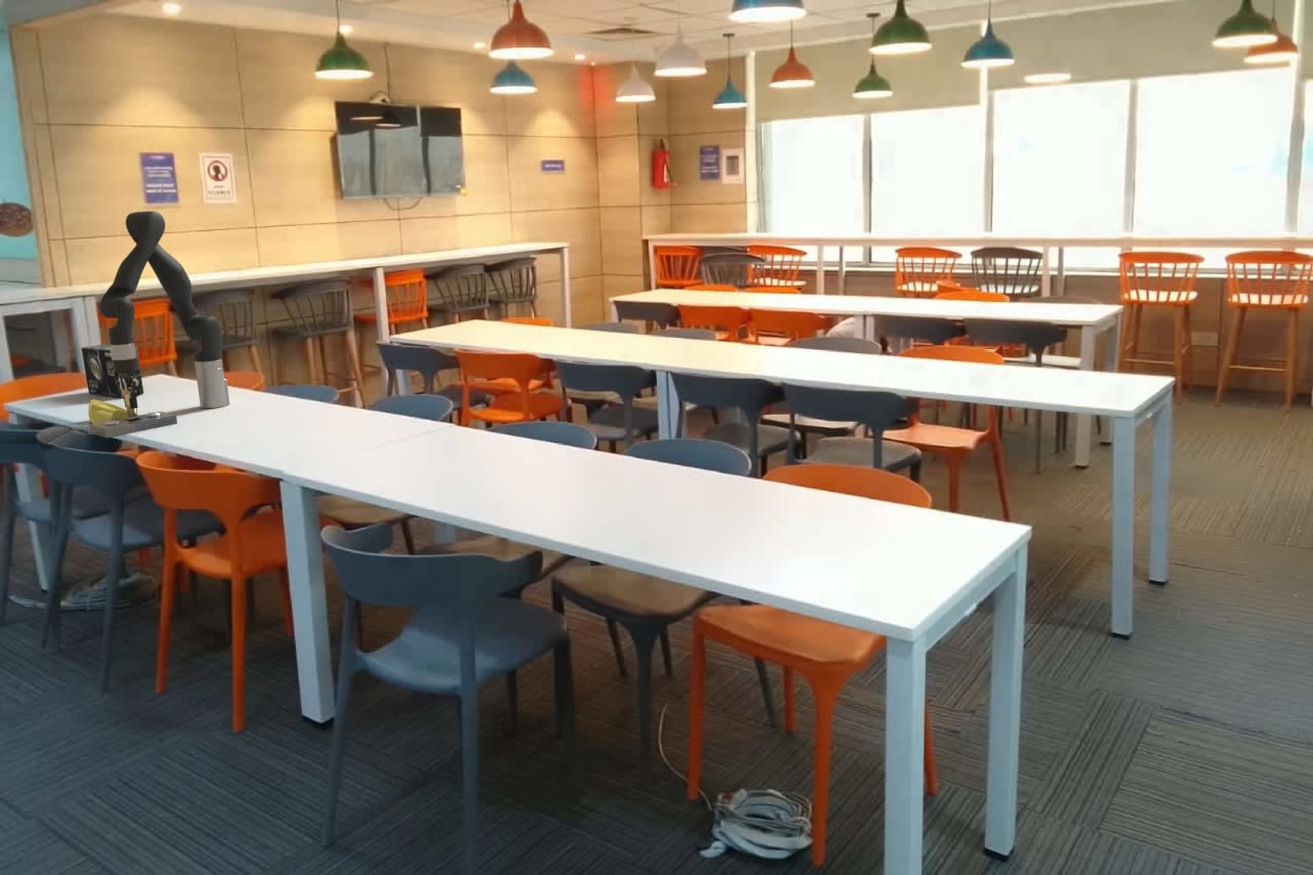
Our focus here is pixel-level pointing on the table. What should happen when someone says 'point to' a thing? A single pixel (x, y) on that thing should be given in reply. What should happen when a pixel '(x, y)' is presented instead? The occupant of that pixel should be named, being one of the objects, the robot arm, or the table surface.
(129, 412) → the pin
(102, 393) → the box
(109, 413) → the plastic component
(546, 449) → the table surface
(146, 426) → the grey slotted plate
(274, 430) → the table surface
